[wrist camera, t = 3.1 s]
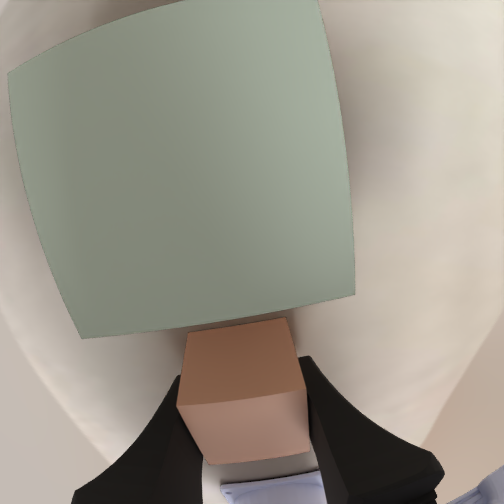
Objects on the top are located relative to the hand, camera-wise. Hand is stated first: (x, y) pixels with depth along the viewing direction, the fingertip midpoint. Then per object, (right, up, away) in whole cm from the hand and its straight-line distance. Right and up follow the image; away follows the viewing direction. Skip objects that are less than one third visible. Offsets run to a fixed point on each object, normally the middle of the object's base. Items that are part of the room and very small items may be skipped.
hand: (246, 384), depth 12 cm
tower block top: (-1, +8, -4) cm, 9 cm away
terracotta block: (0, +1, +1) cm, 1 cm away
